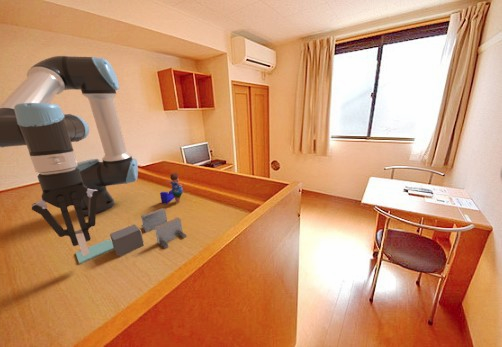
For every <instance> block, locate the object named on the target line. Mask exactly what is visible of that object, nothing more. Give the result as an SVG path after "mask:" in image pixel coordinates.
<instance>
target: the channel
mask: <svg viewBox="0 0 502 347" xmlns="http://www.w3.org/2000/svg"><path fill="white" fill-rule="evenodd" d="M140 218H141V221H142V224H141V228H142V229H143V230H144V232H145V233H148V232H151V231H153V230H154V232H155V235H156V236H155V237H156V240H157V244H158V245H160V246H161V247H162V248H163V249H167V248H169V244H168V242H170V241H172V240H174V239H176V238H178V237H181V238H182V239H183V240H184V239H185V238H187V237H188V235H187V234H185V233H184V232H183V226H182V220H181V218H180V217H175V218H173V219H170V220H169V221H168V218H167V212H166V208H164V207H162V208H159V209H156V210H153V211H151V212H148V213H145V214H143V215H140Z"/></svg>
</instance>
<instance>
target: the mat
mask: <svg viewBox="0 0 502 347" xmlns="http://www.w3.org/2000/svg"><path fill="white" fill-rule="evenodd" d="M87 247H88V250H89V253H90V254H87V255H85V256H82V253H81V250H80V249H79V250H78V251H75V254H76V255H75V256H76V258H77V261H78V264H79V265H82V264H83V263H87V262H88V261H90V260H92V259H93V260H94V259H95V258H97V257H100V256H102V255H105V254H106V253H109V252H111V251H115V250H114V247H113V243H112V240H111V238H108V239H106V240H103V241H101V242H99V243H95V244H93V245H91V246H87Z"/></svg>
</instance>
